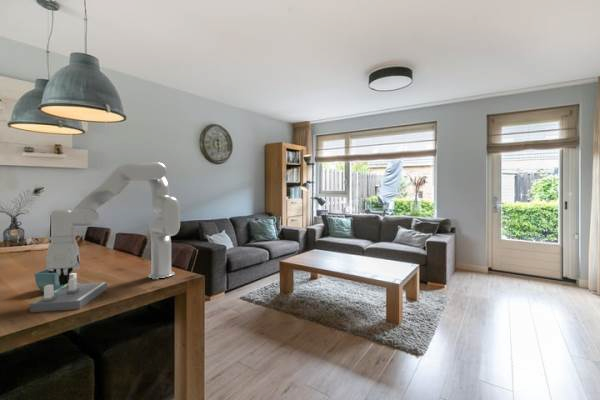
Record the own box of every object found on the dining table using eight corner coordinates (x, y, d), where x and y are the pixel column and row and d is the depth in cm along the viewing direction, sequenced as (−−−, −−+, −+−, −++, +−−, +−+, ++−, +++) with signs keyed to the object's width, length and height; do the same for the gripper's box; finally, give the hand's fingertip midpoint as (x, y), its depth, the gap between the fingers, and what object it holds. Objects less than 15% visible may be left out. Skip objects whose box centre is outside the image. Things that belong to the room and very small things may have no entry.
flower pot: (70, 286, 133) (70, 267, 132) (54, 293, 124) (54, 273, 124) (51, 287, 132) (50, 267, 132) (33, 293, 123) (33, 273, 123)
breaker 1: (47, 297, 110) (47, 284, 110) (56, 297, 111) (56, 283, 111) (41, 301, 107) (41, 287, 106) (50, 300, 107) (50, 286, 107)
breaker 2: (71, 284, 126) (71, 272, 126) (79, 284, 126) (78, 272, 126) (66, 287, 122) (66, 275, 122) (74, 286, 123) (74, 274, 123)
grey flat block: (67, 290, 127) (67, 283, 127) (107, 288, 130) (107, 281, 130) (30, 312, 105) (30, 303, 104) (79, 308, 108) (79, 300, 108)
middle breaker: (71, 290, 119) (71, 277, 119) (79, 289, 119) (79, 277, 119) (66, 293, 115) (65, 280, 115) (74, 292, 116) (74, 279, 116)
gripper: (35, 241, 111) (36, 288, 111) (79, 240, 114) (79, 285, 115) (48, 238, 118) (49, 282, 119) (89, 237, 121) (89, 280, 122)
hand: (64, 283), depth 117 cm, fingers closed
